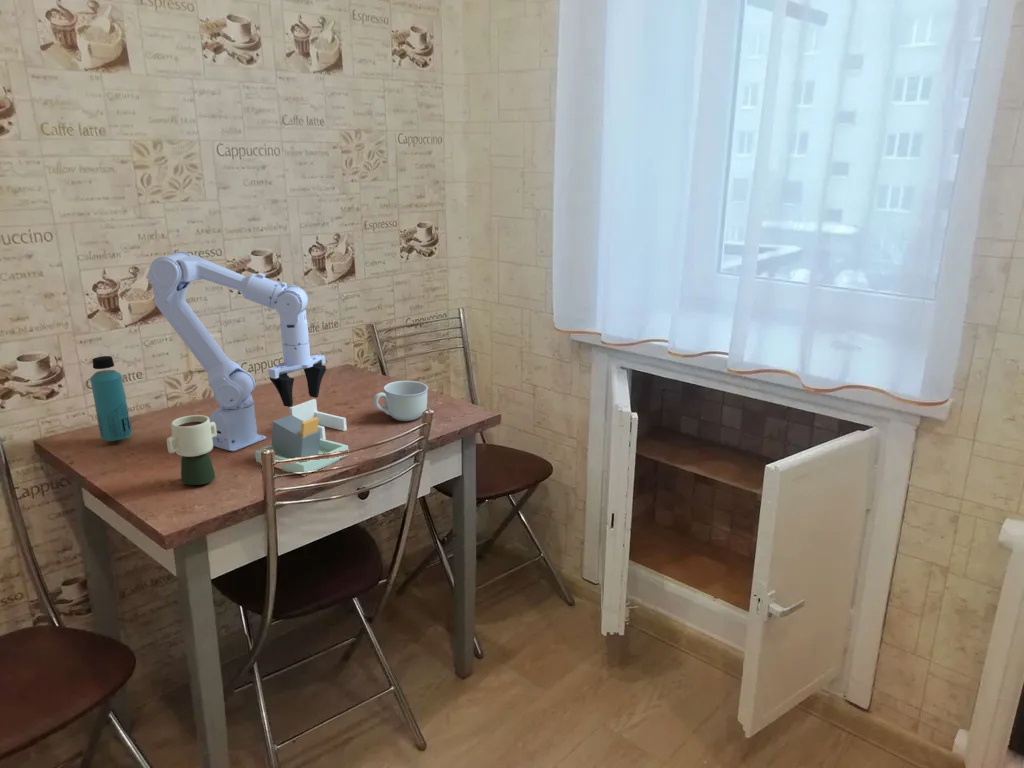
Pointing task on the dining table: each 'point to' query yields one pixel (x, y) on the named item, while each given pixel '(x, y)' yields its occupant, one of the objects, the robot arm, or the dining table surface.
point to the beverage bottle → (110, 401)
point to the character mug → (193, 447)
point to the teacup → (403, 400)
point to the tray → (310, 465)
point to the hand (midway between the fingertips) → (301, 401)
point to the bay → (318, 416)
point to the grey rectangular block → (296, 436)
